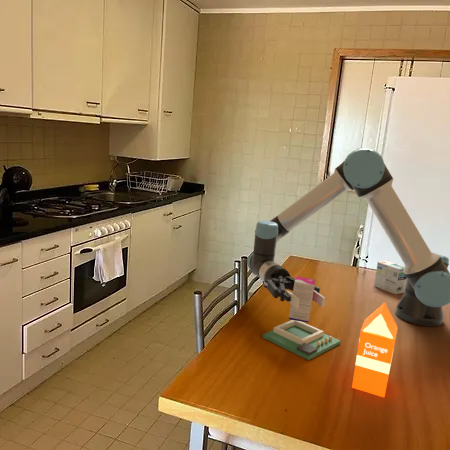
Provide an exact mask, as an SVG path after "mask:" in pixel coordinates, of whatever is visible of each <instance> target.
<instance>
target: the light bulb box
mask: <svg viewBox="0 0 450 450" xmlns="http://www.w3.org/2000/svg"><path fill="white" fill-rule="evenodd" d="M404 267H405V265H401V264H398V263H395V262H392V261H391V260H390V261H389V260H381V261H377V264H376V271H375V278H374V283H373V287H375V288H379V289H380V290H383V291H385V292H387V293H391V294H394V295H398V294H404V293H405V288H406V282H407V277H406V276H405V274H404V272H403V270H404Z"/></svg>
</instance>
